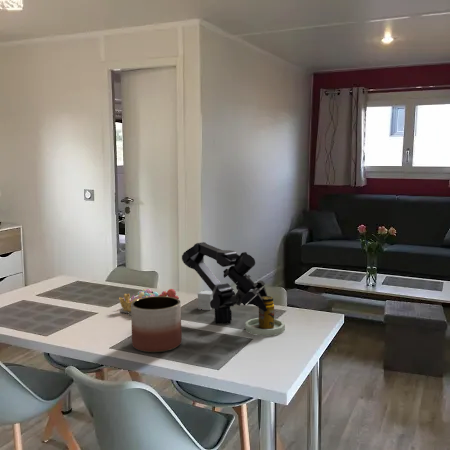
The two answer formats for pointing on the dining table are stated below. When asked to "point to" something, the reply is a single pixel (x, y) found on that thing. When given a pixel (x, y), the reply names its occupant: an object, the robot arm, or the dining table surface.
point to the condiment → (266, 314)
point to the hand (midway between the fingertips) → (268, 308)
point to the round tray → (264, 332)
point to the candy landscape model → (126, 301)
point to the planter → (156, 323)
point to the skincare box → (205, 300)
